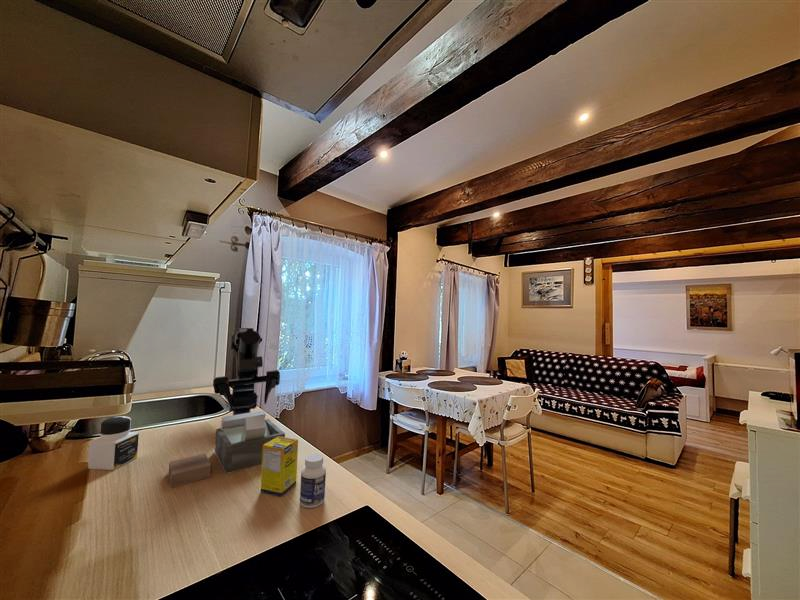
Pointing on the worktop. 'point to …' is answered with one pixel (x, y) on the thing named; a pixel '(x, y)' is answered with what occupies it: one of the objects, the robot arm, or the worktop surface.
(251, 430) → the light grey block
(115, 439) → the medicine bottle
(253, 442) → the frame
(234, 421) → the trapdoor
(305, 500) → the pill bottle
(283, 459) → the supplement box
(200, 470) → the walnut plinth
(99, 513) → the worktop surface
